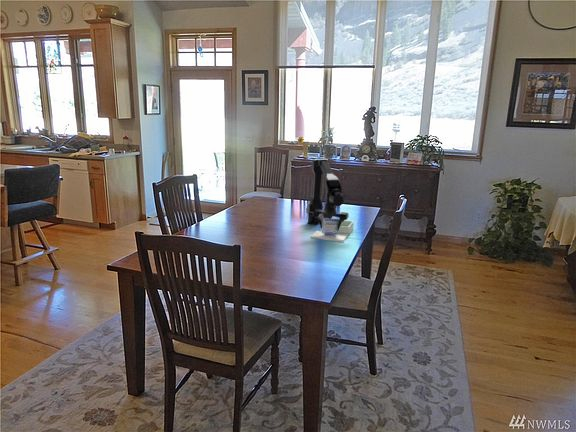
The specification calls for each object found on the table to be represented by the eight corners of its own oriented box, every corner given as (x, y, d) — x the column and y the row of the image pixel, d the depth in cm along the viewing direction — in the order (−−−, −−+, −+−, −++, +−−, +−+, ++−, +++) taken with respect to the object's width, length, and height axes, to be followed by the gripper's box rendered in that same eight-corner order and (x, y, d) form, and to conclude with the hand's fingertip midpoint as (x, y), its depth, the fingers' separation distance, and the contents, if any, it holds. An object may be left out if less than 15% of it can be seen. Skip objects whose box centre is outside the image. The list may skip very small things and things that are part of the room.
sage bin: (322, 232, 231) (323, 224, 230) (328, 226, 244) (329, 218, 242) (348, 236, 227) (349, 227, 225) (353, 229, 239) (353, 221, 238)
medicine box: (324, 235, 220) (324, 219, 218) (321, 232, 225) (322, 217, 222) (337, 234, 222) (338, 219, 220) (334, 232, 227) (335, 216, 224)
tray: (310, 237, 222) (310, 236, 221) (316, 232, 232) (316, 230, 232) (343, 242, 216) (343, 240, 216) (347, 236, 226) (347, 234, 226)
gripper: (310, 203, 215) (309, 231, 219) (345, 206, 209) (343, 236, 213) (316, 199, 225) (314, 226, 229) (349, 202, 219) (347, 230, 223)
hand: (329, 229), depth 223 cm, fingers closed on medicine box, 9 cm apart
